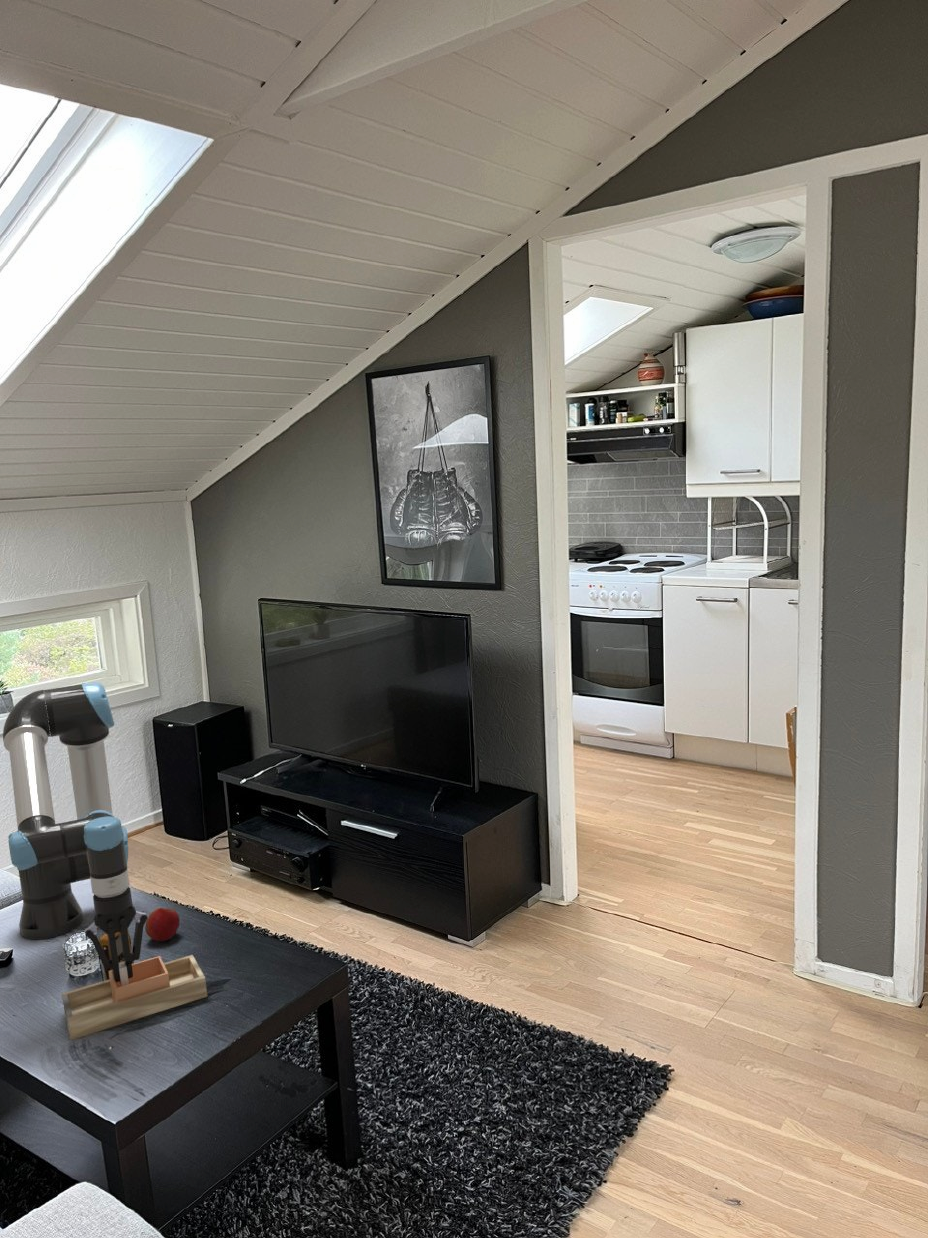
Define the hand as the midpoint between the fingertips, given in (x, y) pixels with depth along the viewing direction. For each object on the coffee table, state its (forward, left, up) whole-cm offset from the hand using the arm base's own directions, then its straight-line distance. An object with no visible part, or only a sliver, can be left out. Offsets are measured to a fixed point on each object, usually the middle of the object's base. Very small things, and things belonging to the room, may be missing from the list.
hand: (125, 993), depth 207 cm
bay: (0, +2, -3) cm, 4 cm away
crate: (0, +3, -2) cm, 4 cm away
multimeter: (-9, +3, -4) cm, 11 cm away
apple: (-27, +13, -4) cm, 30 cm away
